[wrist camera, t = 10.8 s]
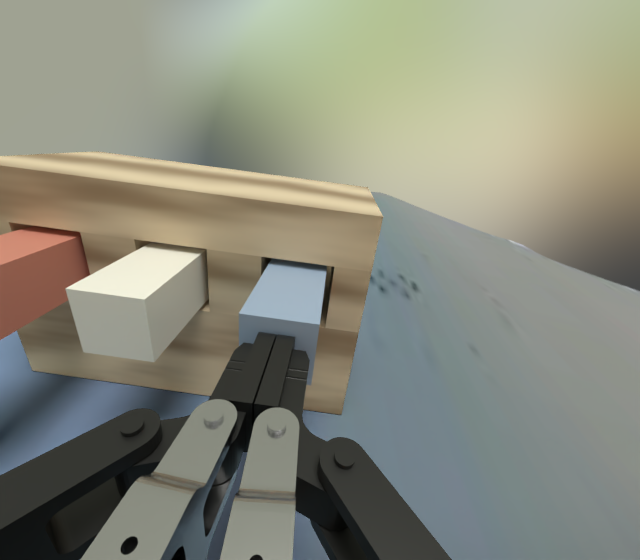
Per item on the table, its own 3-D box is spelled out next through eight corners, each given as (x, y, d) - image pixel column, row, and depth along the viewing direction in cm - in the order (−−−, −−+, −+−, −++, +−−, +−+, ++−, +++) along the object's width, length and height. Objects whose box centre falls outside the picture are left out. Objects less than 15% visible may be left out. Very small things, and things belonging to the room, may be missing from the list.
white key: (154, 362, 13) (144, 299, 12) (83, 352, 13) (64, 288, 12) (235, 266, 23) (235, 226, 22) (194, 261, 23) (192, 220, 22)
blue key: (311, 385, 13) (319, 324, 12) (238, 375, 13) (238, 313, 12) (325, 279, 23) (330, 239, 22) (283, 273, 23) (286, 233, 22)
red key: (-88, 391, 11) (-136, 314, 9) (-175, 378, 11) (-237, 300, 9) (121, 269, 21) (112, 224, 19) (75, 263, 21) (63, 217, 19)
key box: (341, 414, 21) (383, 216, 15) (32, 370, 21) (-51, 158, 15) (341, 331, 30) (367, 187, 24) (125, 301, 30) (97, 151, 24)
